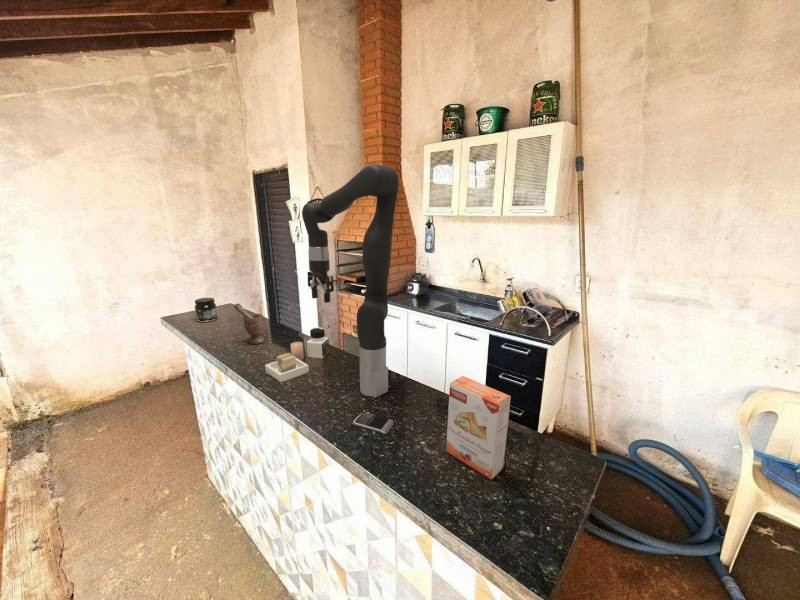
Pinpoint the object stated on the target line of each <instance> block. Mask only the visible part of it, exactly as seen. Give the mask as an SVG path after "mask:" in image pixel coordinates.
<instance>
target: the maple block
mask: <svg viewBox="0 0 800 600" xmlns="http://www.w3.org/2000/svg"><path fill="white" fill-rule="evenodd" d="M276 361H277V363H278V371H279V372H281V373H284V372H287V371H290V370H293V369H296V361H295V356H293V355H291V352H287V353H285V354H281V355H280V354H279V355H278V356H276Z"/></svg>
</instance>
